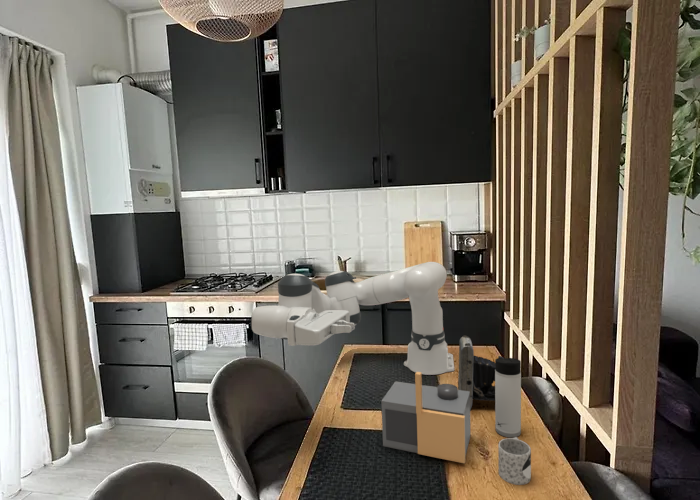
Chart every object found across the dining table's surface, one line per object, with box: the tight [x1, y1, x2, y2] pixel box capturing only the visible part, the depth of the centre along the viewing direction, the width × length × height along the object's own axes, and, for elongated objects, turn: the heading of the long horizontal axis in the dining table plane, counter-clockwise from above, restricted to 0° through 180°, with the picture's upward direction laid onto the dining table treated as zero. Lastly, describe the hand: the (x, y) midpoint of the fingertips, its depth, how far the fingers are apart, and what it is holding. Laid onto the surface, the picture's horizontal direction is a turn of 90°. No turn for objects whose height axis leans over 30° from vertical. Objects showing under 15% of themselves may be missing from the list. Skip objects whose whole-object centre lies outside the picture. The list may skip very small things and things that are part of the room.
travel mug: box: [494, 357, 522, 438], centre depth 106 cm, size 6×7×20 cm
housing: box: [380, 381, 471, 458], centre depth 104 cm, size 12×20×14 cm, turn 67°
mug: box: [497, 436, 532, 486], centre depth 92 cm, size 10×7×7 cm, turn 155°
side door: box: [414, 372, 466, 464], centre depth 95 cm, size 2×11×20 cm, turn 67°
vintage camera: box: [457, 335, 504, 409], centre depth 122 cm, size 10×16×20 cm, turn 79°
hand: (352, 327), depth 103 cm, fingers closed
